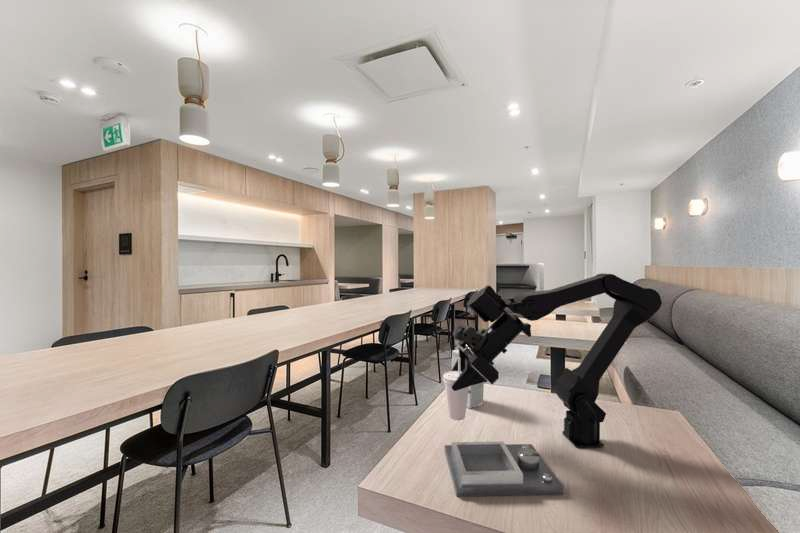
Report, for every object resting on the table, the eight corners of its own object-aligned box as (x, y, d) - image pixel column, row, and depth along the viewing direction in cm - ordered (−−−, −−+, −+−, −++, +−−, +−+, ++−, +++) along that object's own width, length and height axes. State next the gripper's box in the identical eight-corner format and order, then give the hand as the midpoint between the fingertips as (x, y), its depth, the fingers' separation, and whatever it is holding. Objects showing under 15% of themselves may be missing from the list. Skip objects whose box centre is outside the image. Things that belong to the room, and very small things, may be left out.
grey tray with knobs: (531, 450, 75) (531, 435, 75) (563, 494, 61) (563, 475, 61) (444, 452, 75) (444, 436, 75) (456, 496, 61) (456, 476, 61)
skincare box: (449, 400, 102) (449, 350, 102) (463, 395, 106) (463, 347, 106) (471, 409, 96) (471, 356, 95) (485, 404, 99) (485, 353, 99)
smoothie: (471, 424, 76) (471, 362, 75) (442, 421, 77) (441, 360, 77) (470, 411, 82) (471, 353, 82) (444, 409, 84) (443, 352, 83)
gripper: (466, 306, 88) (423, 349, 89) (482, 318, 70) (428, 372, 70) (497, 336, 88) (454, 379, 89) (521, 356, 70) (467, 410, 70)
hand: (450, 383), depth 80 cm, fingers closed on smoothie, 6 cm apart
